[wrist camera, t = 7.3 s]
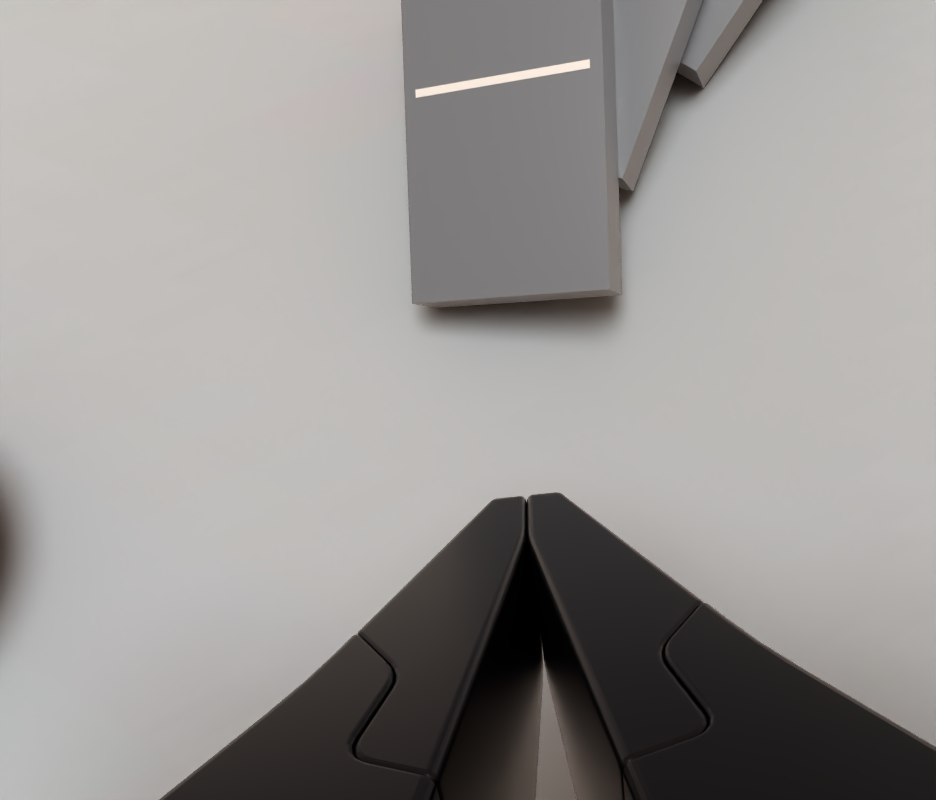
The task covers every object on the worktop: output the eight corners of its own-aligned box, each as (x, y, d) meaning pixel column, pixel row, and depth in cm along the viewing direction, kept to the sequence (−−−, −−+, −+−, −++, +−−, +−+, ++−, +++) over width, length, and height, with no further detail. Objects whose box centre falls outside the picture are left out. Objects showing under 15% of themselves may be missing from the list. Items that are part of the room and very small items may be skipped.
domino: (609, 289, 19) (596, -152, 18) (412, 303, 20) (397, -99, 20) (622, 295, 20) (609, -113, 20) (437, 308, 22) (423, -67, 22)
